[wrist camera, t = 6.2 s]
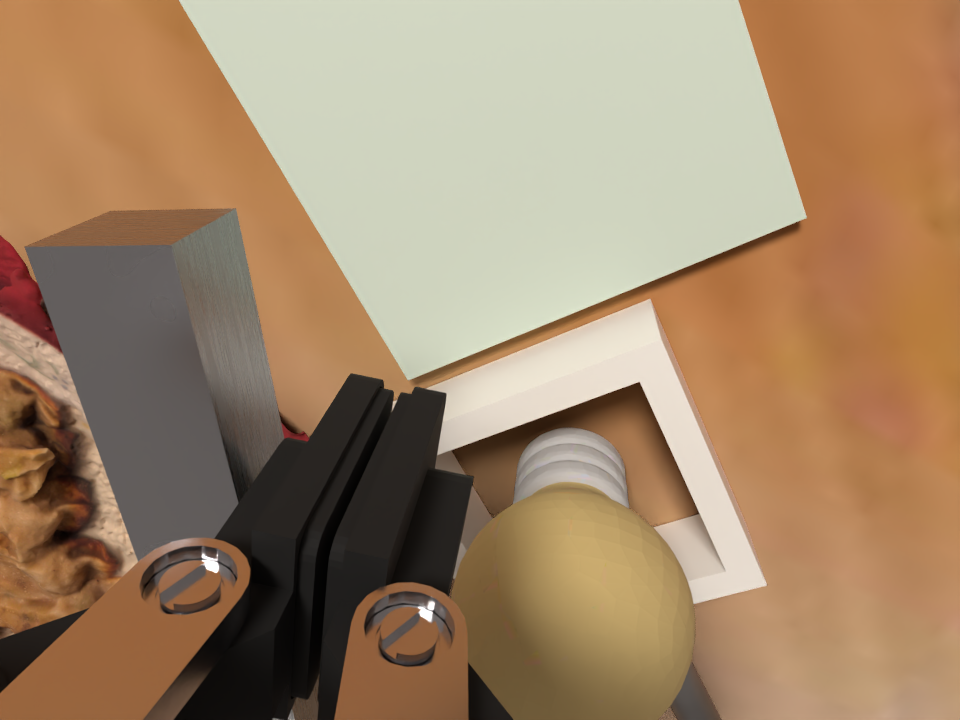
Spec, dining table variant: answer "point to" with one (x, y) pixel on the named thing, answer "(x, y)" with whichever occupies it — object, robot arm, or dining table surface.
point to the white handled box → (650, 360)
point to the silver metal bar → (166, 366)
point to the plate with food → (49, 472)
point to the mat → (507, 149)
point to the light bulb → (575, 592)
